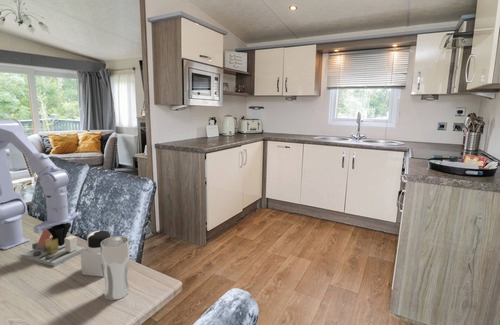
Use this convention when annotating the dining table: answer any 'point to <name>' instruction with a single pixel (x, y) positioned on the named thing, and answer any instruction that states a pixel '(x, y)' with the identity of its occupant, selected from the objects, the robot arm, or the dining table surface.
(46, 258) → the panel
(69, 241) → the white slider
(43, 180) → the robot arm
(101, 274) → the medicine bottle
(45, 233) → the red paddle
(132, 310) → the dining table surface
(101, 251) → the beer glass
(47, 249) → the brass slider
